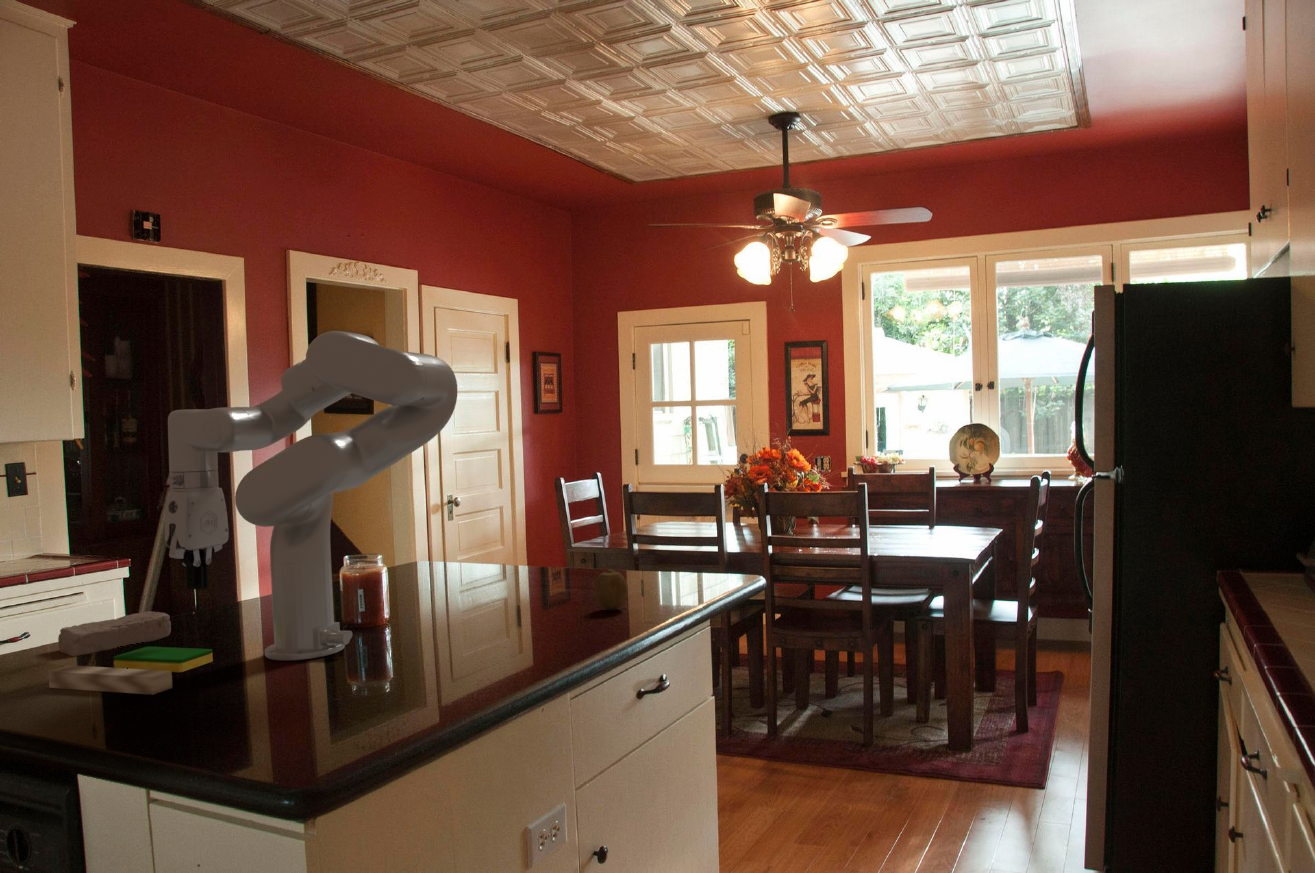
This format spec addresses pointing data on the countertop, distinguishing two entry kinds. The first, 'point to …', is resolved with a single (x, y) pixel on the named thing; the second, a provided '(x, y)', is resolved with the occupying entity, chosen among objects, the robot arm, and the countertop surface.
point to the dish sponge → (164, 658)
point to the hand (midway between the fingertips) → (197, 588)
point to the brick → (114, 633)
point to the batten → (110, 679)
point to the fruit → (611, 590)
